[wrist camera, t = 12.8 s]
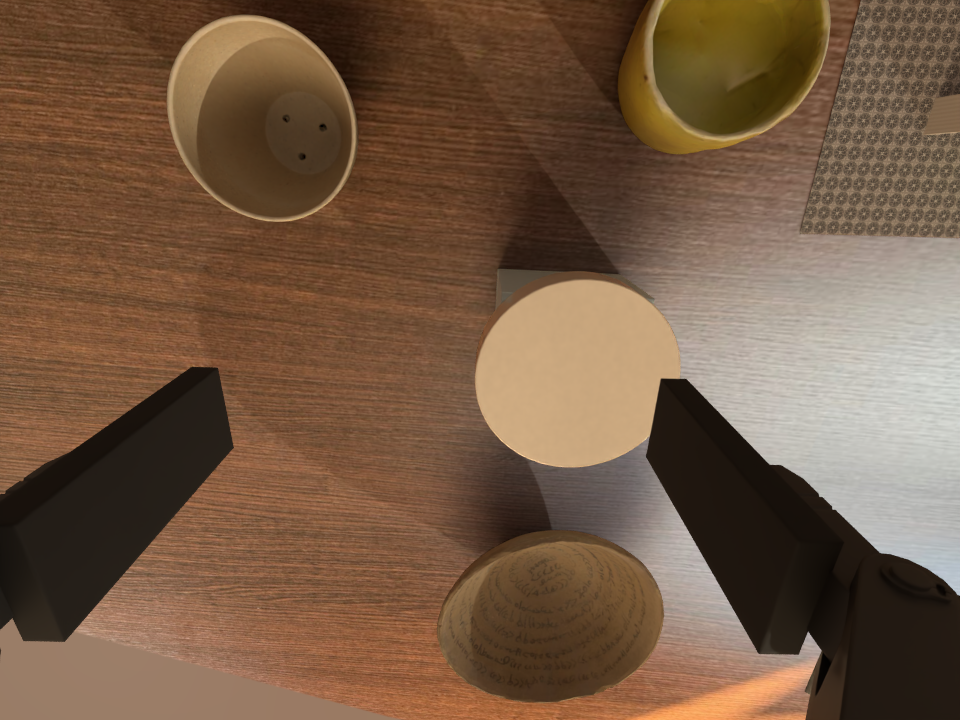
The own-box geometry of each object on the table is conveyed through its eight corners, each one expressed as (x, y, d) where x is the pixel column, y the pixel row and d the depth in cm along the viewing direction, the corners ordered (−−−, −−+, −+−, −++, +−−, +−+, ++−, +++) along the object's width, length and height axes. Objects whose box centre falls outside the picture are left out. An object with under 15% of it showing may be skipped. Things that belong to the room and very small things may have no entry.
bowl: (636, 621, 48) (664, 702, 41) (457, 637, 49) (453, 719, 42) (635, 468, 42) (669, 531, 34) (429, 489, 43) (418, 555, 35)
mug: (784, 162, 31) (842, 118, 22) (620, 180, 34) (610, 149, 25) (796, -52, 29) (866, -202, 20) (620, -10, 32) (608, -120, 23)
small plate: (479, 266, 28) (479, 274, 26) (683, 275, 28) (700, 284, 26) (471, 444, 32) (471, 464, 30) (648, 451, 32) (660, 471, 30)
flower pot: (244, 210, 34) (186, 219, 27) (220, 47, 30) (147, 11, 24) (384, 214, 34) (361, 224, 27) (377, 51, 30) (347, 16, 24)
